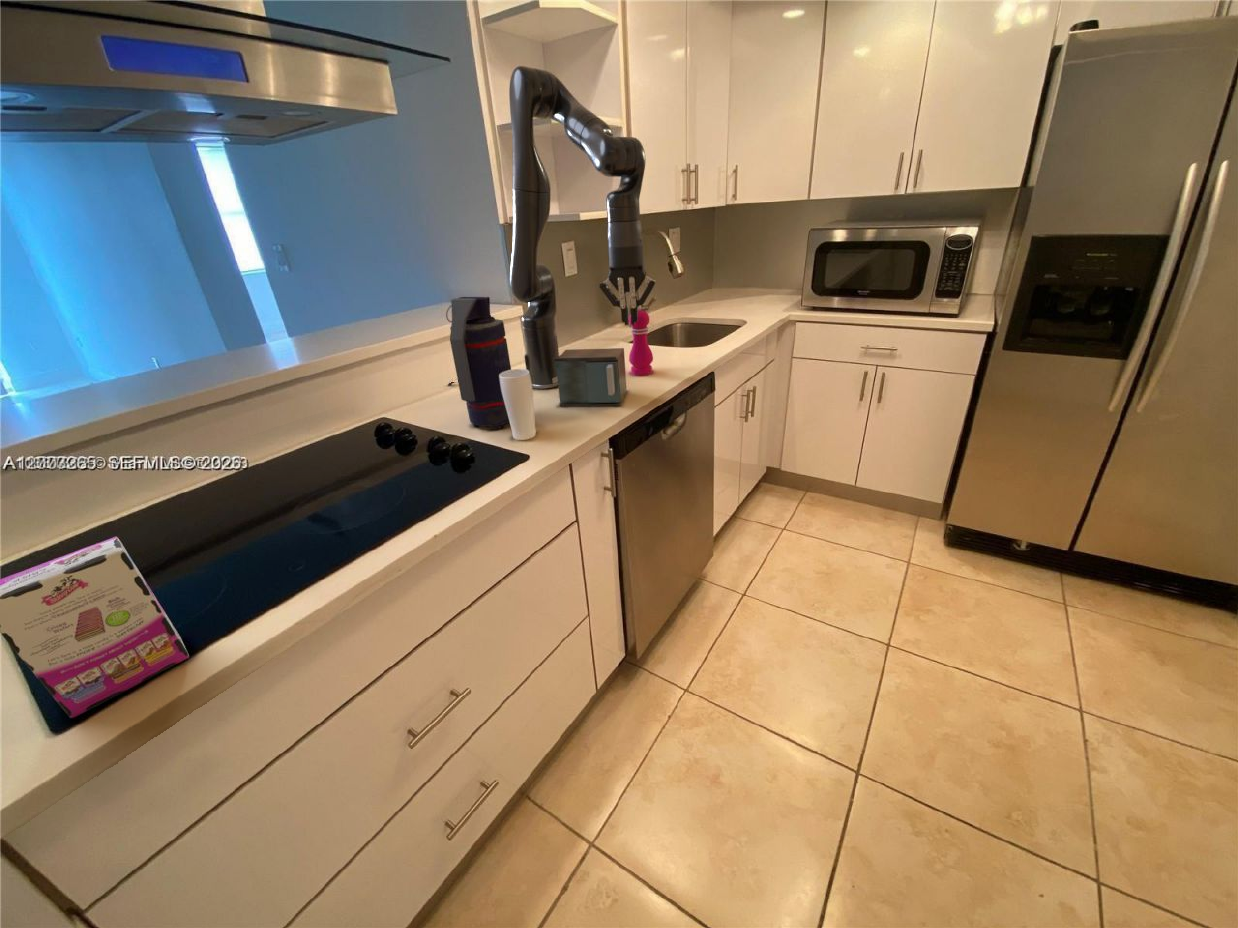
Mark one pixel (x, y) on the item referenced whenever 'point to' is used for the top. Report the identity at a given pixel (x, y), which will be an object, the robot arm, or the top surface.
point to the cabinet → (574, 374)
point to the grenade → (479, 359)
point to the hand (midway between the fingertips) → (630, 324)
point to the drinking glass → (518, 402)
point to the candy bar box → (88, 625)
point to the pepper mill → (640, 346)
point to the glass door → (602, 382)
